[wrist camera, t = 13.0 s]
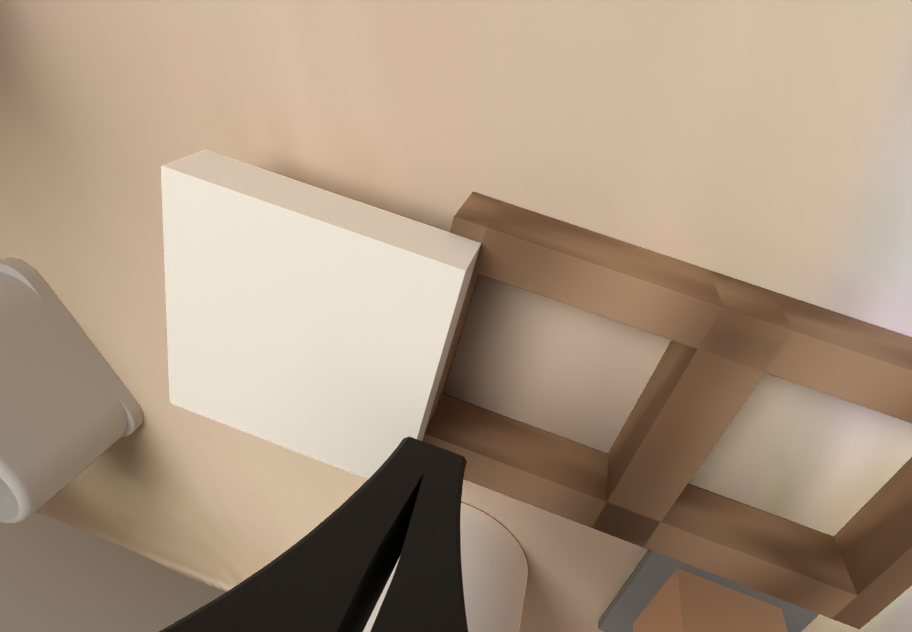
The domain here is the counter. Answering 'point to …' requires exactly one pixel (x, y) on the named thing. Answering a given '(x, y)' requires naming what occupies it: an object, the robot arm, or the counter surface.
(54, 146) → the counter surface
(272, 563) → the robot arm
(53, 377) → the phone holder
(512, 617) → the cup
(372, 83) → the counter surface
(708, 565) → the wooden grid frame
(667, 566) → the pad
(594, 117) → the counter surface
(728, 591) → the block
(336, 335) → the cover
